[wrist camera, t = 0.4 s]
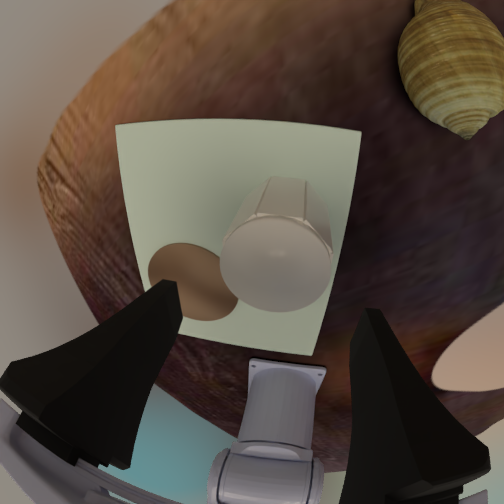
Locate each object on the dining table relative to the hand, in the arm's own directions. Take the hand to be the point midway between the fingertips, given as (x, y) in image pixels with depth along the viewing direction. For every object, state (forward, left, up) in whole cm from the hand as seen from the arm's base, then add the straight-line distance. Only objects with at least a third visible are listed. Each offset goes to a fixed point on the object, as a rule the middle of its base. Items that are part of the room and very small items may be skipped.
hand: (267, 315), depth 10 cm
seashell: (+12, -9, -10) cm, 18 cm away
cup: (0, 0, -9) cm, 9 cm away
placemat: (-4, +4, -9) cm, 11 cm away
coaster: (-7, +7, -9) cm, 13 cm away
